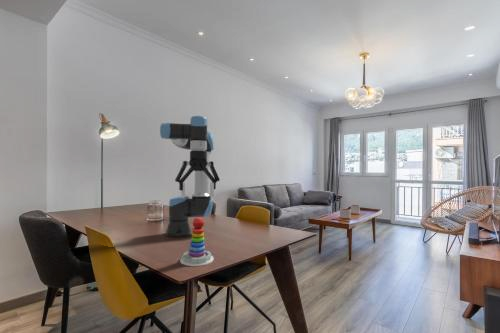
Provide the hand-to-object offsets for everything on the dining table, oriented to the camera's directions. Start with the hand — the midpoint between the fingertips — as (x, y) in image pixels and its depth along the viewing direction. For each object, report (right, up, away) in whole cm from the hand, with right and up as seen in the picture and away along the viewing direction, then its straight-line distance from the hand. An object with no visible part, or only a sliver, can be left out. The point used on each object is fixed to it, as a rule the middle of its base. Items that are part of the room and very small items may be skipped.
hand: (197, 197), depth 120 cm
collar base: (0, -29, 0) cm, 29 cm away
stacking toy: (0, -28, 0) cm, 28 cm away
